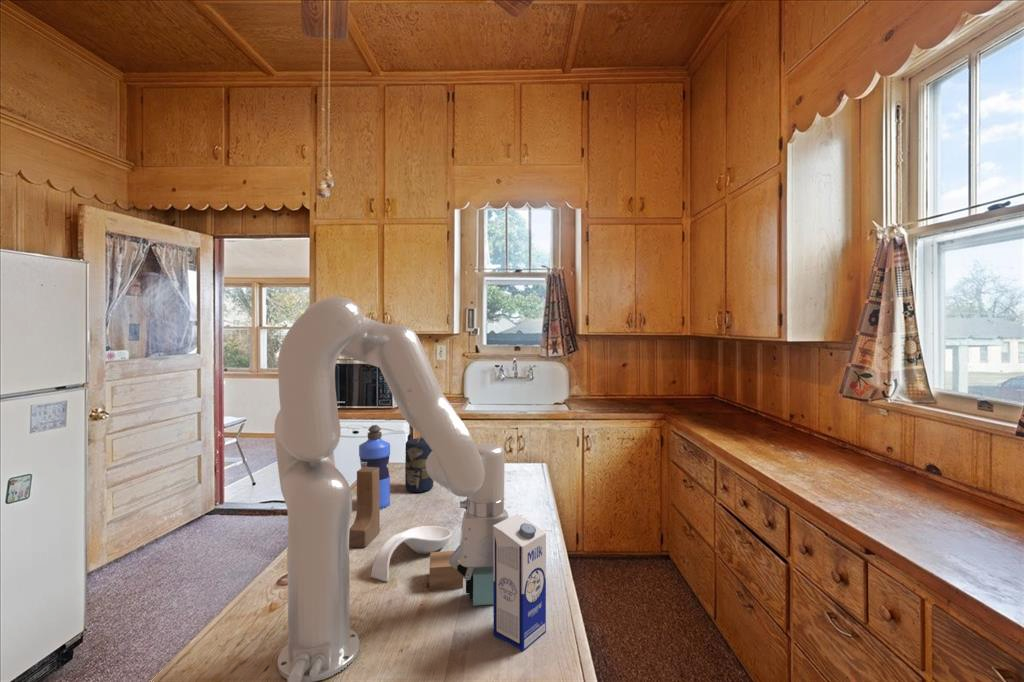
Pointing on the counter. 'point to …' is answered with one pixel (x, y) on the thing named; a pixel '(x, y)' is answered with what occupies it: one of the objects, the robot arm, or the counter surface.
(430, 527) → the spoon rest
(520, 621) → the milk carton
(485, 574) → the teal block
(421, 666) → the counter surface
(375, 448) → the water bottle
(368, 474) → the wooden block
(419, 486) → the canister
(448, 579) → the walnut block
